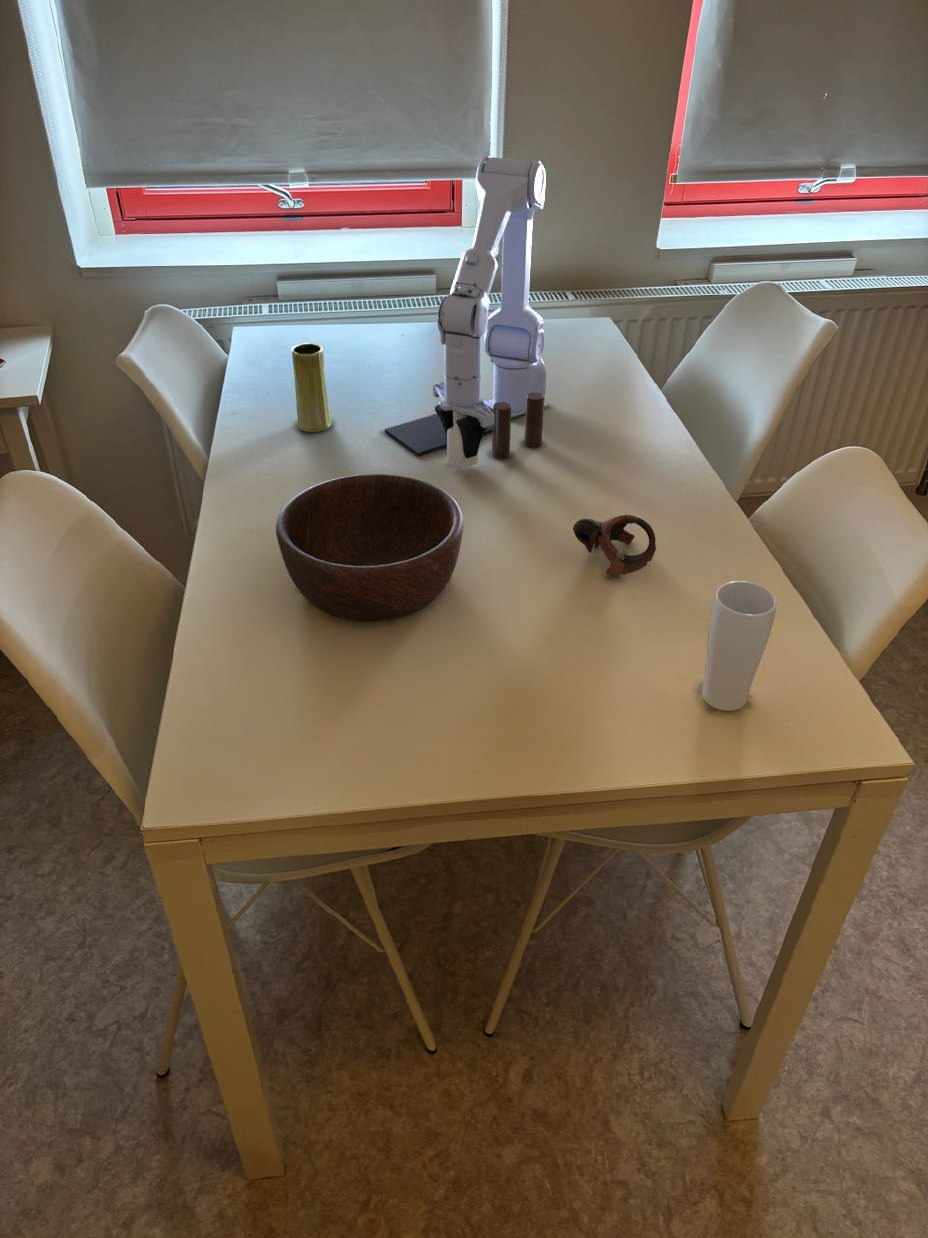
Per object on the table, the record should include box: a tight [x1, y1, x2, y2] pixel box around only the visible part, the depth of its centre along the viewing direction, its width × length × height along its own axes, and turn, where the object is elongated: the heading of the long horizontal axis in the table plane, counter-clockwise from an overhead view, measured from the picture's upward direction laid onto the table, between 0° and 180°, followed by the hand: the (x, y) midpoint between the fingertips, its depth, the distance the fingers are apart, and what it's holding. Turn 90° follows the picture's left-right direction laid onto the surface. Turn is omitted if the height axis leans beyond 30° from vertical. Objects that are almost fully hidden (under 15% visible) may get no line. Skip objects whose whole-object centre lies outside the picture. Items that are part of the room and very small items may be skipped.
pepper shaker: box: [446, 411, 479, 470], centre depth 157 cm, size 4×4×10 cm
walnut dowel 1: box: [491, 402, 512, 460], centre depth 162 cm, size 3×3×9 cm
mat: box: [384, 413, 493, 457], centre depth 171 cm, size 18×11×1 cm, turn 125°
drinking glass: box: [701, 580, 778, 712], centre depth 111 cm, size 7×7×15 cm
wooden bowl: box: [275, 473, 464, 622], centre depth 131 cm, size 25×25×10 cm
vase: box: [291, 342, 332, 433], centre depth 169 cm, size 6×6×14 cm
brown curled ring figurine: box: [572, 514, 657, 579], centre depth 137 cm, size 12×10×8 cm
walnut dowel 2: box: [523, 392, 545, 449], centre depth 165 cm, size 3×3×9 cm
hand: (462, 450), depth 159 cm, fingers closed on pepper shaker, 4 cm apart
